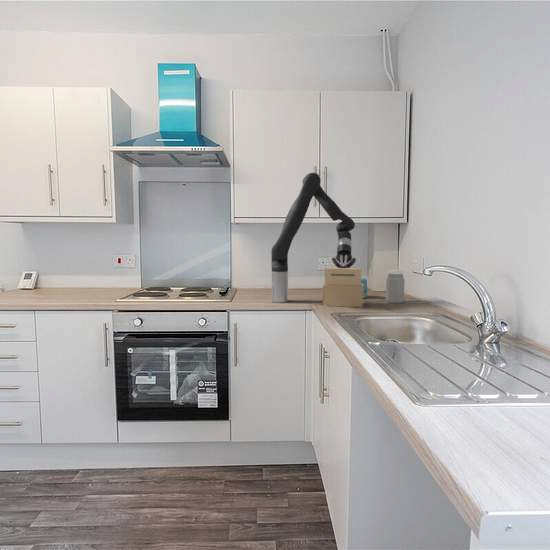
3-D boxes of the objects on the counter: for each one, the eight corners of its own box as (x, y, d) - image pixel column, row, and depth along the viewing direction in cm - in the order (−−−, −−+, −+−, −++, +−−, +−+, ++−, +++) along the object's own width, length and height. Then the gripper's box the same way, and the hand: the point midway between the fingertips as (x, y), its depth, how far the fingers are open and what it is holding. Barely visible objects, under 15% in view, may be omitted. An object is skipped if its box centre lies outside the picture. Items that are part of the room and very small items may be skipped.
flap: (325, 284, 208) (324, 268, 203) (325, 284, 208) (324, 267, 203) (361, 285, 204) (361, 269, 199) (361, 284, 204) (361, 268, 199)
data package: (366, 298, 234) (367, 278, 233) (360, 299, 232) (360, 278, 231) (355, 295, 245) (355, 276, 244) (349, 296, 244) (349, 276, 242)
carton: (322, 305, 210) (322, 285, 209) (325, 301, 224) (325, 282, 223) (363, 307, 205) (363, 286, 204) (363, 302, 220) (364, 283, 218)
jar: (384, 303, 218) (385, 270, 216) (387, 300, 227) (388, 269, 225) (402, 304, 214) (403, 271, 212) (405, 301, 223) (405, 269, 221)
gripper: (331, 243, 212) (329, 268, 201) (356, 243, 209) (356, 268, 198) (332, 252, 218) (330, 277, 207) (356, 252, 215) (356, 277, 204)
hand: (343, 273), depth 203 cm, fingers closed
